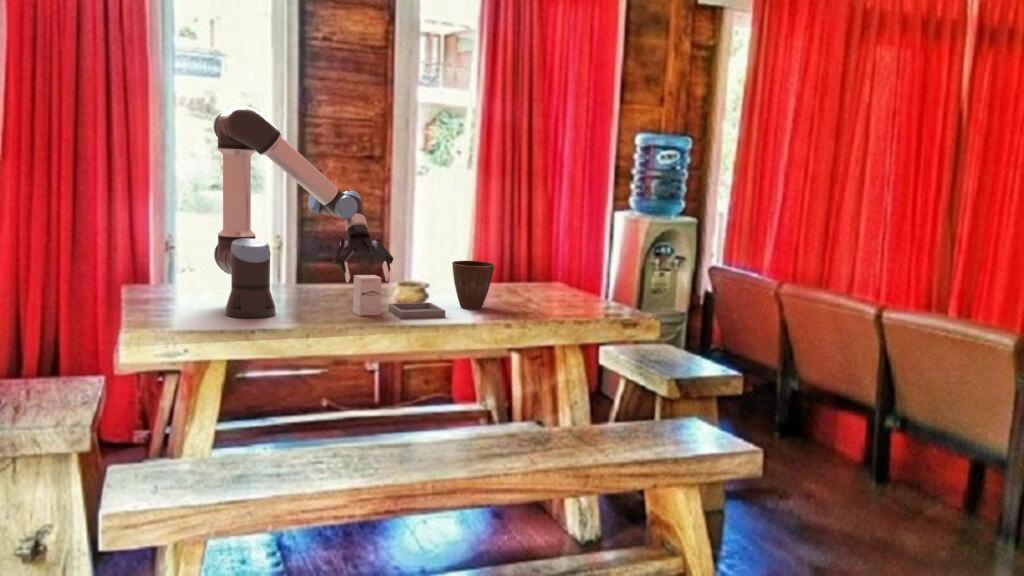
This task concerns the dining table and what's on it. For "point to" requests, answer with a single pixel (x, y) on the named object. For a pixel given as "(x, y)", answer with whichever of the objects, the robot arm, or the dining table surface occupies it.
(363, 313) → the supplement box
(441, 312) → the tray
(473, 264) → the plant pot
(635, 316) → the dining table surface
